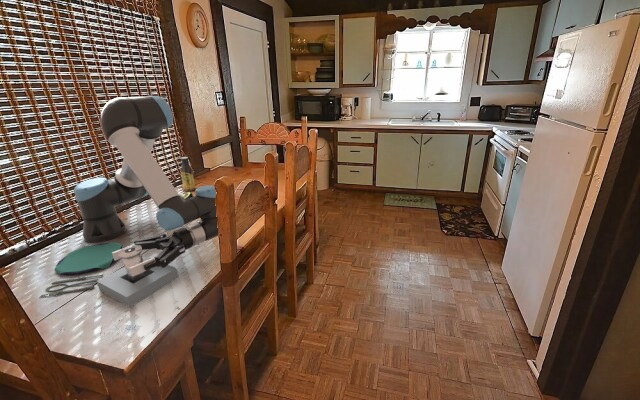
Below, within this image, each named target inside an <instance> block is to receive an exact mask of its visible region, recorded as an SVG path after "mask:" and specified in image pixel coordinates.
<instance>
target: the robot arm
mask: <svg viewBox="0 0 640 400" xmlns="http://www.w3.org/2000/svg"><path fill="white" fill-rule="evenodd" d="M99 120H100V127H101V130H102V133H103V135H104V137H105V138H106V141H108V143H109V144H110V145H112V146H115V147H116V149H117V150H118V151H119V152H120V154H121V156H122V157H123V160H122V164H121V165H122V166H121V167H120V168H119V169H117V170H116V171H115V176H114V178H109V179H107V178H106V177H96V178H90V179H88V180H84V181H82V182H80V183H78V184H76V186H75V187H74V189H73V192H74V195H75V201H76V202H77V205H78V208H79V212H80V215H81V217H82V220H83V227H82V237H83V240H84V241H85V242H87V243H102V242H106V241H110V240H112V239H113V240H114V239H116V238H118V237H120V236H121V235H123V234H125V233H126V232H127V227H126V224H125V222H124V221H123V219H122V218H121V217H120V215H118V213H117V209H116V207H119V206H121V205H124V204H127V203H130V202H134V201H136V200H141V199H142V198H144V197H146V196H148V195H149V197H150V198H151V199H152V201H153V202H154V204H155V205H156V207H157V209H159V210H158V211H157V212H156V214H155V219H156V220H157V224H158V225H159V227H160V228H161V229H162V230H164V231H165V232H166V231H168V232H170V231H173V232H172V235H171V236H167V234H166V233H163V234H160V235H156V236H150V237H146V238H139V239H134V240H133V243H132V245H140V246H141V247H142V251H144V250H155V249H156V250H161V252H160V253H159V254H158V255H157V256H154V257H150V258H151V259H149V260H146V261H144V262H142V263H139V264H137V265H134V266H132V267H130V268H129V269H130V272H131V276H132V277H133V276H135V275H137V274H140V273H142V272H144V271H146V270H149V269H151V268H153V267H156V266H157V267H159V266H161V267H162V268H164V267H166V266H167V265H170V264H171V263H172V262H173V261H174V260H176V259H177V258H179V256H181V255H182V254H185V253H186V251H187V250H189V249H190V248H193V247H195V246H199V245H200V244H203V243H204V242H206V241H209V240H211V239H214V238H217V237H219V236H218V228H217V217H216V206H215V196H216V191H215V187H216V186H215V185H212V184H211V185H207V184H206V185H201V186H199V187H197V188H195V189H194V192H195V194H194V195H193V196H194V197H192V198H189V199H186V200H184V201H183V200H182V198H181V197H180V195H179V194H180V193H179V192H178V191H177V190H176V188H175V186H174V185H173V184H172V182H171V181H170V178H168V176H167V175H166V174H165V172H164V170H163V169H162V168H161V165H159V163H158V162H157V160H156V158H154V156H153V154H152V151H153V148H154V144H155V140H157V139H159V138H160V137H161V136H162V134H163V130H164V129H168V128H170V127H171V126H173V123H174V114H173V111H172V109H171V106H170V104H169V103H168V101H166V100H165V99H164V98H163V97H161V96H159V95H147V96H145V95H144V96H128V97H127V96H126V97H124V96H123V97H115V98H113V99H110V100H109V101H108V102H106V104H105V105H104V106H103V108H102V110H101V113H100V119H99ZM214 186H215V187H214ZM198 219H200V220H199V221H196V220H198ZM193 221H196V222H193ZM191 222H193V223H191ZM190 223H191V224H190ZM188 224H189V225H188ZM185 225H186V226H185ZM183 226H185V227H183ZM120 250H121V249H120ZM120 250H117V251H115V252H112V255H113V258H114V260H113V261H119V260H120V259H121V258H119V255H118V252H119V251H120ZM154 259H155V260H154Z"/></svg>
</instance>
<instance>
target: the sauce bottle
mask: <svg viewBox="0 0 640 400" xmlns="http://www.w3.org/2000/svg"><path fill="white" fill-rule="evenodd" d="M180 161H181V170H180V175H181V181H182V187H183V190H184V192H192V191H195V190H196V188H195V180H194V173H193V169H192V167H191V166H190V162H189V161H190V159H189V157H188V156H182V157H180Z"/></svg>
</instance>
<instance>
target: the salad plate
mask: <svg viewBox="0 0 640 400" xmlns="http://www.w3.org/2000/svg"><path fill="white" fill-rule="evenodd" d="M178 194H179V195H180V197H181V198H182V200H183V201H184V200H186V199H189V198H192V197H194V196H195V195H193V193H192V191H187V192H186V193H185V194H180V193H178Z"/></svg>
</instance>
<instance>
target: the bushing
mask: <svg viewBox="0 0 640 400" xmlns="http://www.w3.org/2000/svg"><path fill="white" fill-rule="evenodd" d="M122 248H123V249H121V250H120V251H119V252H118V255H119V258H121V259H122V262H123V265H124V267H125V268H126V271H127V274H128V277H129V280H130V282H131V283H133V284H134V283H136V282H137V281H139V280H141V279H143V278H144V277H146V276H148V275H147V271H144V272H142V273H140V274H137V275H135V276H133V277H132V276H131V272H130V269H129V268H130V267H132V266H134V265H137V264H139V263H142V262H143V255H142V252H143V250H142V247H141V246H140V245H133V244H131V245H127V246H125V247H122Z"/></svg>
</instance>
